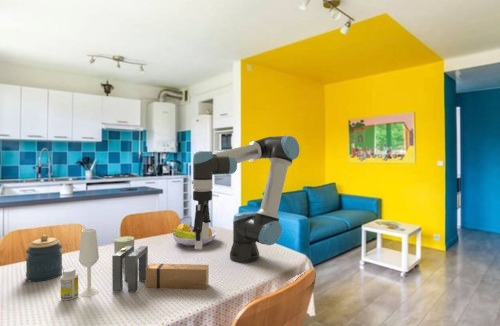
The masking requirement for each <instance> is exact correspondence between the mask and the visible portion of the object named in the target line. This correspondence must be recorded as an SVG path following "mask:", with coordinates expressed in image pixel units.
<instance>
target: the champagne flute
mask: <svg viewBox="0 0 500 326" xmlns="http://www.w3.org/2000/svg"><path fill="white" fill-rule="evenodd" d="M80 233H81V234H80V243H79V252H78V262H79V263H80V265H81V266H83V267H85V268H87V269H86V273H87V274H86V275H87V278H86V280H87V283H86V284H87V285H86V288H85V289H83V290H82V291H80V292H78V296H80V297H83V298H84V297H85V298H86V297H92V296H95V295H96V294H98V293H99V292H100V289H99V288H96V287H92V267H93V266H94V265H95V264H96V263H97V262H98V261H99V258H100V254H99V245H98V237H97V230H96V228H84V229H82V230H81V232H80Z"/></svg>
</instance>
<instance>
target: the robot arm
mask: <svg viewBox="0 0 500 326" xmlns="http://www.w3.org/2000/svg"><path fill="white" fill-rule="evenodd" d="M299 156H300V145H299V142H298V140H297V138H295V137H294V136H292V135H281V136H278V135H277V136H268V137H267V136H266V137H263V138H260V139H257V140H254V141H251V142H249V144H246V145H243V146H242V145H241V146H239V147H234V148H229V149H226V150H223V151H219V152H215V153H214V152H212V151H206V150H205V151H203V150H197V151H194V153H193V159H192V167H193V168H192V174H193V175H192V181H191V184H192V189H193V190H192V200H193V201H195V202H197V204H196V205H195V214H194V222H193V228H194V229H193V232H195V246H194V249H195V250H203V245H202V239H209V228H210V223H212V220H211V218H210V208H209V207H210V206H209V202H210V201H212V200H213V176H215V175H233V174H234V173H236V171H237V169H238V164H241V163H243V162H246V161H250V160H255V161H257V160H260V159H268V160H269V162H270V166H269V167H270V168H269V172H268V176H267V180H266V183H265V187H264V191H263V196H262V200H261V204H260V208H259V209H258V210H257V211H254V212H253V211H246V212H238V213H235V214H234V215H233V223H232V224H233V225H232V227H233V228H232V233H233V237H232V238H233V239H232V242H233V243H232V246H231V249H230V252H229V259H230V260H231V261H233V262H237V263H242V264H243V263H252V262H255V261H258V260H260V250H259V248H258V244H257V243H259V244H261V245H266V246H273V245H275V244H276V243H277V242H278V241H279V239H280V238H281V235H282V233H283V228H282V225H281V222H280V216H279V215H278V213H279V212H278V211H279V208H280V204H281V203H280V202H281V200H282V199H281V198H282V194H283V189H284V186H285V182H286V177H287V173H288V168H289V167H291V166H292V165H293V164H292V163H293V160H296V159H297V158H298V157H299Z"/></svg>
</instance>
